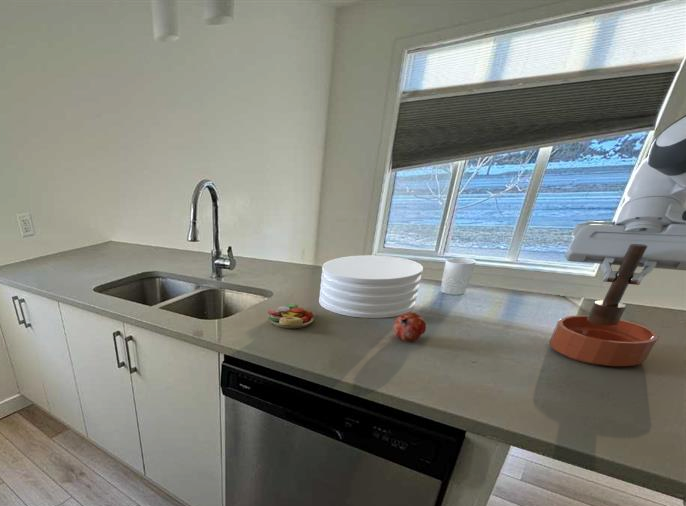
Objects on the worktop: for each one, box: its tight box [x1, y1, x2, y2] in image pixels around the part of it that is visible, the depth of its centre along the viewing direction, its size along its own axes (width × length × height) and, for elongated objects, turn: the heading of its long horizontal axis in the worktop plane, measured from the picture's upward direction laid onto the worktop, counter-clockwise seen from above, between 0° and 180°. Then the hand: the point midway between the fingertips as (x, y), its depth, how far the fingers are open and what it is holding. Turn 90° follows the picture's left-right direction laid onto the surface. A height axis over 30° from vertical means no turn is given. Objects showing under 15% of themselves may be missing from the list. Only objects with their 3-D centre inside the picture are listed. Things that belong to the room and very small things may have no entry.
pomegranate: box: [392, 311, 427, 343], centre depth 103 cm, size 7×7×10 cm
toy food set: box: [267, 303, 315, 329], centre depth 120 cm, size 13×13×3 cm
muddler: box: [587, 244, 647, 326], centre depth 83 cm, size 5×5×16 cm
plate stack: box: [318, 254, 424, 319], centre depth 126 cm, size 28×28×12 cm
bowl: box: [549, 314, 660, 367], centre depth 89 cm, size 16×16×6 cm
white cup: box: [440, 257, 477, 296], centre depth 128 cm, size 8×8×10 cm
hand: (621, 281), depth 82 cm, fingers closed on muddler, 2 cm apart
